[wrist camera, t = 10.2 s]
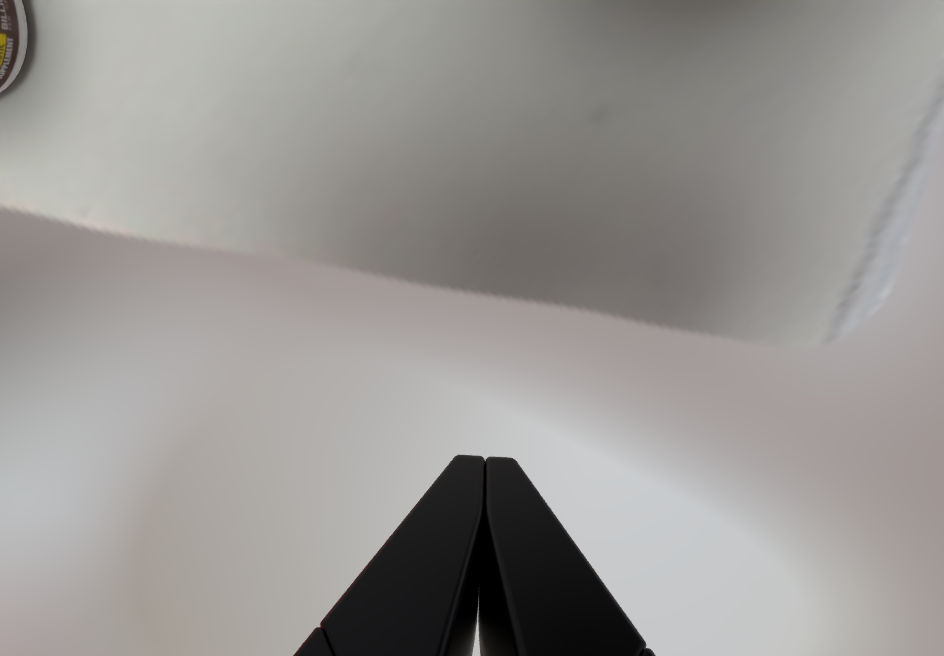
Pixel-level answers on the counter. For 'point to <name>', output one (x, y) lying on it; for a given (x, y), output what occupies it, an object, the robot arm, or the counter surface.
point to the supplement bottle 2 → (11, 40)
